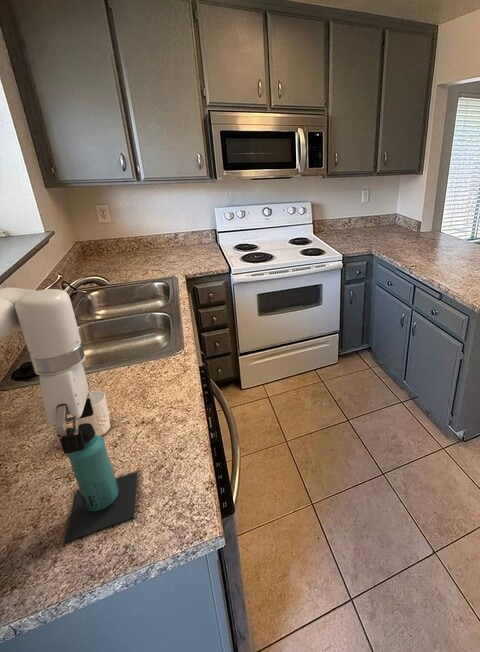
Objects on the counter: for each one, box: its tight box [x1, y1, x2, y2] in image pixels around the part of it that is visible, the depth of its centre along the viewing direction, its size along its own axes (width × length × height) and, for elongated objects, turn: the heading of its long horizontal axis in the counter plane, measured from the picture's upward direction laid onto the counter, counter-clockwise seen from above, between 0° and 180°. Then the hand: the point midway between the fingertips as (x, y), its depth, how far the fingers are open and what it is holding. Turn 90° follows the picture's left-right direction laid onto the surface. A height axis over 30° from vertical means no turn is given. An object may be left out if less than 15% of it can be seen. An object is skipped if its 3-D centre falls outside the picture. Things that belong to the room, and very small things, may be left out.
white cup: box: [78, 389, 111, 436], centre depth 95 cm, size 8×8×10 cm
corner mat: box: [64, 471, 138, 544], centre depth 76 cm, size 12×12×1 cm
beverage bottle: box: [67, 423, 119, 511], centre depth 73 cm, size 6×7×20 cm
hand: (80, 432), depth 70 cm, fingers open, 9 cm apart
